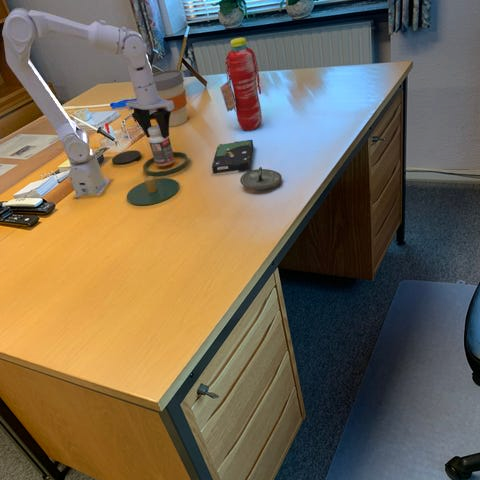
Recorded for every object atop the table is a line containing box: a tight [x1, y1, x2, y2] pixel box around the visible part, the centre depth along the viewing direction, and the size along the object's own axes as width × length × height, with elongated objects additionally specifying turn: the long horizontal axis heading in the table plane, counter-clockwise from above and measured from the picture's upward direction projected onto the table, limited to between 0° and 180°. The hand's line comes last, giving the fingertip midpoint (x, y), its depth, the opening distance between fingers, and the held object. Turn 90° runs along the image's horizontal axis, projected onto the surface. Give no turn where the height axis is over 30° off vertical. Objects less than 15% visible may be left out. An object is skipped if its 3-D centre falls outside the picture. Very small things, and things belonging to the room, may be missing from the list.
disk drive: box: [211, 139, 255, 174], centre depth 135 cm, size 10×3×15 cm
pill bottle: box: [148, 124, 175, 167], centre depth 136 cm, size 6×6×10 cm
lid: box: [239, 166, 283, 190], centre depth 121 cm, size 11×10×5 cm
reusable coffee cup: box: [152, 69, 188, 128], centre depth 164 cm, size 13×13×15 cm
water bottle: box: [220, 37, 263, 131], centre depth 145 cm, size 12×8×25 cm, turn 90°
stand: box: [111, 149, 142, 166], centre depth 149 cm, size 9×9×1 cm
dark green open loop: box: [142, 151, 190, 178], centre depth 139 cm, size 13×13×2 cm
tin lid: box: [126, 176, 180, 207], centre depth 127 cm, size 14×14×5 cm
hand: (158, 136), depth 134 cm, fingers closed on pill bottle, 5 cm apart
